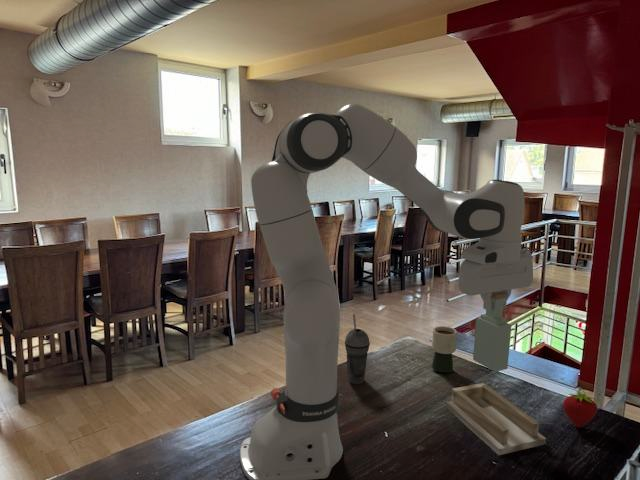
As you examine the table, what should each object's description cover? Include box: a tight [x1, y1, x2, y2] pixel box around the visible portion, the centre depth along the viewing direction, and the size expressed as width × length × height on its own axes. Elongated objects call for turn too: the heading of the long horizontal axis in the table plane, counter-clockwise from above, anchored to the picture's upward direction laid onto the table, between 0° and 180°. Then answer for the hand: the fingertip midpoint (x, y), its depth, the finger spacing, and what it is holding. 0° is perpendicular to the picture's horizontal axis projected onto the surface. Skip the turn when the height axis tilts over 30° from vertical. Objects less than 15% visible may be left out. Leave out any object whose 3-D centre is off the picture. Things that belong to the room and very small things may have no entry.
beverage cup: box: [344, 314, 371, 385], centre depth 127 cm, size 7×7×20 cm
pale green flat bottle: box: [472, 291, 512, 373], centre depth 105 cm, size 7×4×18 cm, turn 25°
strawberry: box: [563, 387, 598, 428], centre depth 107 cm, size 6×8×10 cm
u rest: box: [445, 382, 547, 456], centre depth 108 cm, size 13×20×5 cm, turn 18°
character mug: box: [431, 325, 458, 373], centre depth 134 cm, size 11×7×13 cm, turn 11°
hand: (494, 308), depth 104 cm, fingers closed on pale green flat bottle, 3 cm apart
